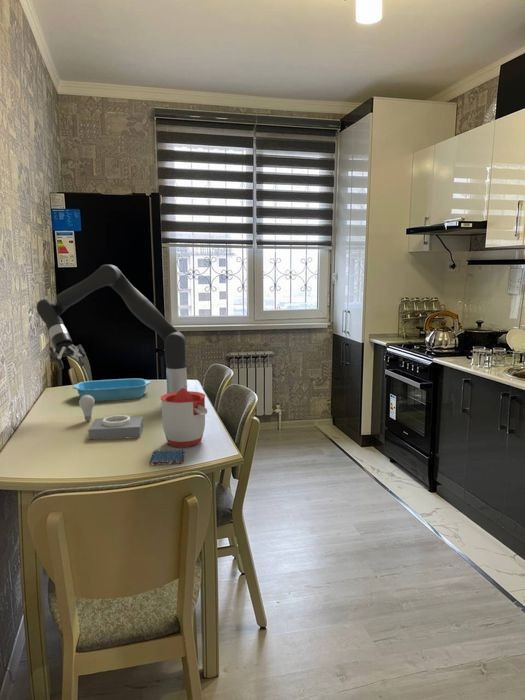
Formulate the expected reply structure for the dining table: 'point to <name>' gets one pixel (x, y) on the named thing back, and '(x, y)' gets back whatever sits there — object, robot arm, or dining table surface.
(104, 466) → the dining table surface
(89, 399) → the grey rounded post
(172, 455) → the woven mat
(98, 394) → the casserole dish
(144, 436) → the dining table surface
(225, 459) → the dining table surface
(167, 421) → the citrus juicer
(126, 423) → the grey ring holder base
